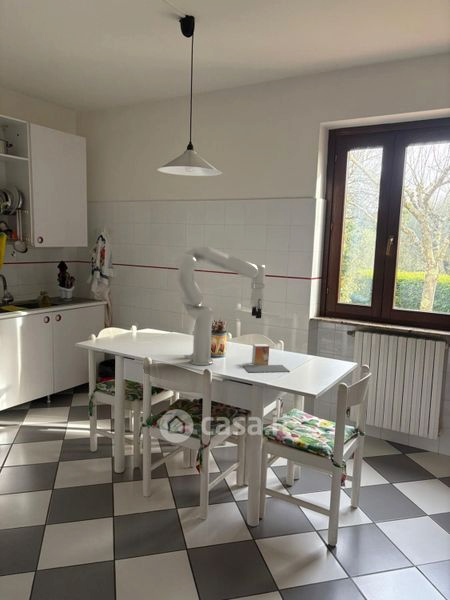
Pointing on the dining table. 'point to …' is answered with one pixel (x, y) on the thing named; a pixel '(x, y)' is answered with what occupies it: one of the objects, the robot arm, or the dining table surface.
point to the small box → (260, 354)
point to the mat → (265, 368)
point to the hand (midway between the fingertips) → (256, 316)
